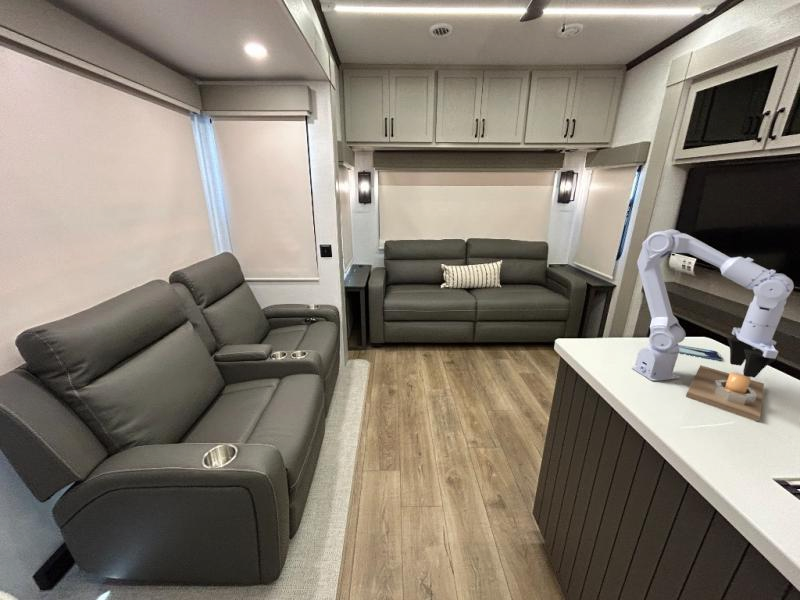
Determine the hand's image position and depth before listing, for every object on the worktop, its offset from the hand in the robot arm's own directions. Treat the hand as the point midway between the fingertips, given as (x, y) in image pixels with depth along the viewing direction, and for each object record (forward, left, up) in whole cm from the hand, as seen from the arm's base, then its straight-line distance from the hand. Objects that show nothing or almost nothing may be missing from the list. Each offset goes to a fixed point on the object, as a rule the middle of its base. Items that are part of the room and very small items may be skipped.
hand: (742, 370), depth 87 cm
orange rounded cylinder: (0, 0, -8) cm, 8 cm away
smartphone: (+18, +25, -10) cm, 32 cm away
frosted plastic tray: (0, 0, -8) cm, 8 cm away
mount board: (+3, +3, -9) cm, 10 cm away
